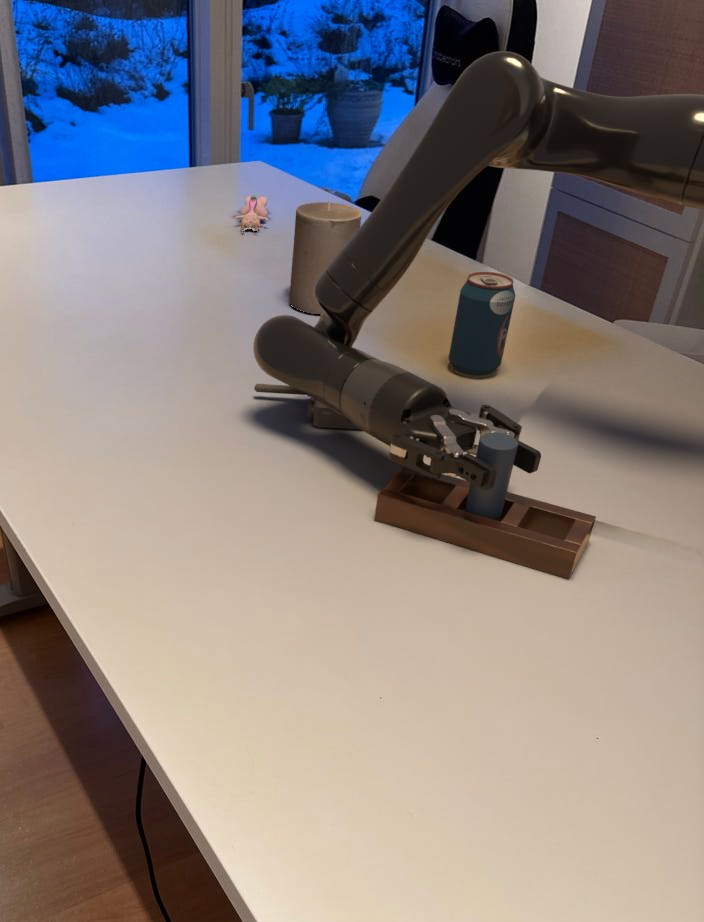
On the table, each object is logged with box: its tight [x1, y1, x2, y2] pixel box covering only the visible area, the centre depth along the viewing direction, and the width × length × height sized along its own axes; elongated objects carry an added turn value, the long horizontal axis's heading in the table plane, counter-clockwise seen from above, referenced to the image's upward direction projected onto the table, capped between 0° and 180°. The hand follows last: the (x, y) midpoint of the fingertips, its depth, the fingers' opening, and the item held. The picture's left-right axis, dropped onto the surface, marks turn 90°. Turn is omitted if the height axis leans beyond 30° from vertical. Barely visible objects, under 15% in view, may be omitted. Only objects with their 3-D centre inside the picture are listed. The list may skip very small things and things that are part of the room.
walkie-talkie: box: [254, 383, 360, 430], centre depth 115 cm, size 9×4×20 cm
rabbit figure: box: [235, 194, 269, 231], centre depth 179 cm, size 6×6×15 cm
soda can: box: [448, 271, 516, 379], centre depth 125 cm, size 7×7×12 cm
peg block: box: [373, 466, 597, 580], centre depth 95 cm, size 8×20×3 cm, turn 60°
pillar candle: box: [288, 200, 363, 316], centre depth 142 cm, size 10×10×15 cm
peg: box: [465, 432, 518, 521], centre depth 93 cm, size 4×4×10 cm
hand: (514, 471), depth 90 cm, fingers open, 5 cm apart
